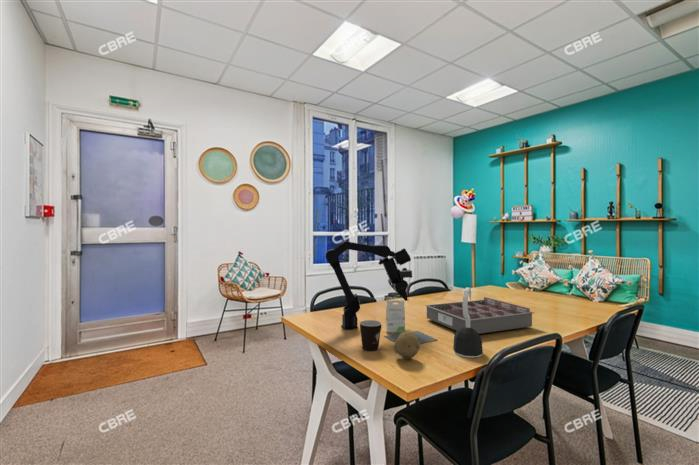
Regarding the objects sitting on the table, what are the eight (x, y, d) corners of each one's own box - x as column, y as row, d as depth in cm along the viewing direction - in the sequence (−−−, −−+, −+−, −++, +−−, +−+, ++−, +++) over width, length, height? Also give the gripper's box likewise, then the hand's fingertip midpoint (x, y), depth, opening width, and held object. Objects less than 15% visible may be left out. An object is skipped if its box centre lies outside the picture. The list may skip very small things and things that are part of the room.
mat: (402, 346, 134) (402, 345, 134) (384, 336, 147) (384, 335, 147) (437, 340, 142) (437, 339, 142) (417, 331, 155) (417, 330, 155)
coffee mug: (366, 353, 127) (366, 327, 127) (355, 346, 135) (355, 321, 134) (391, 348, 132) (392, 323, 132) (380, 342, 140) (380, 318, 140)
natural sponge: (423, 364, 117) (423, 335, 117) (398, 365, 116) (398, 336, 116) (416, 354, 126) (416, 328, 126) (392, 355, 125) (392, 328, 125)
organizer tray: (424, 320, 174) (424, 301, 174) (484, 313, 189) (484, 296, 189) (466, 339, 144) (466, 316, 144) (534, 329, 159) (534, 308, 159)
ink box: (404, 329, 158) (404, 298, 157) (405, 332, 153) (405, 300, 152) (385, 329, 158) (385, 298, 158) (386, 332, 153) (386, 300, 153)
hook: (456, 345, 136) (456, 284, 136) (485, 350, 130) (485, 286, 130) (449, 354, 126) (449, 288, 126) (480, 360, 120) (480, 291, 120)
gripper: (411, 264, 153) (424, 295, 154) (402, 260, 172) (414, 288, 172) (389, 274, 152) (402, 305, 153) (382, 269, 171) (394, 297, 172)
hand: (404, 298), depth 162 cm, fingers open, 9 cm apart
